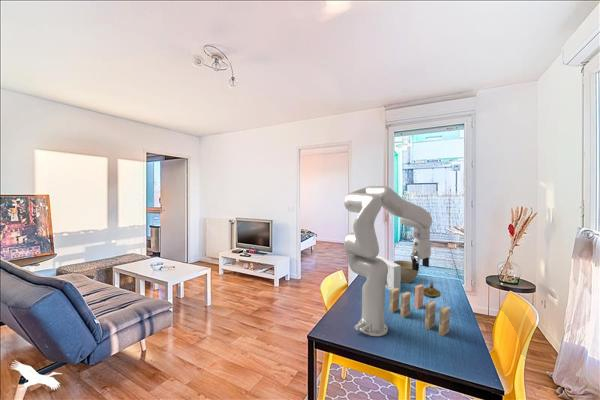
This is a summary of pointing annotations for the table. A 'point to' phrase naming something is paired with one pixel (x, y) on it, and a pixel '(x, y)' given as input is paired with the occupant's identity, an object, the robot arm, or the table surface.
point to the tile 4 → (444, 320)
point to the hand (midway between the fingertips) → (420, 268)
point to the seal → (431, 292)
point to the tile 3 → (430, 315)
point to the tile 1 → (405, 304)
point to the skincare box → (392, 274)
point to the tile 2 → (419, 296)
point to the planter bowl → (407, 271)
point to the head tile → (394, 300)
